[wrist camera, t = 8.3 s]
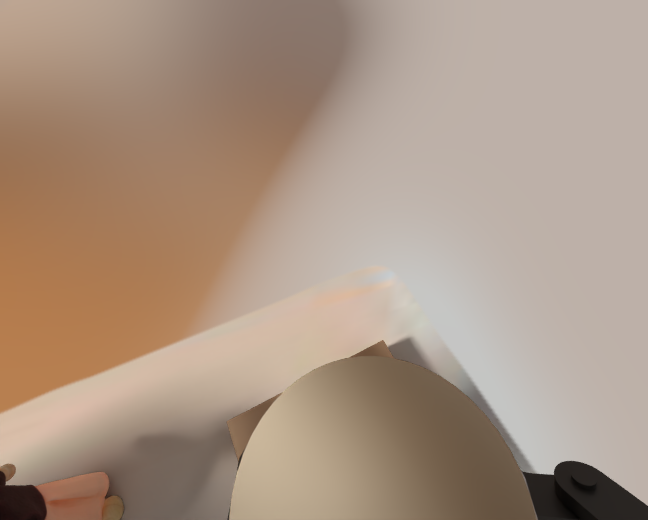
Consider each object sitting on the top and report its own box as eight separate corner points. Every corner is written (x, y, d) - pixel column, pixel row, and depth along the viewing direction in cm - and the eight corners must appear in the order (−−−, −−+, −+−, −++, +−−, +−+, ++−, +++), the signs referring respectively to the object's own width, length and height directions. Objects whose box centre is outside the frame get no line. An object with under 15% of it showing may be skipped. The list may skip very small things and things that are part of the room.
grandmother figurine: (147, 499, 25) (-1, 529, 14) (109, 558, 23) (-91, 643, 12) (79, 447, 27) (-95, 439, 16) (40, 498, 25) (-183, 526, 15)
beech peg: (334, 572, 15) (304, 891, 4) (286, 447, 18) (191, 431, 7) (434, 505, 16) (628, 610, 5) (374, 397, 19) (417, 313, 8)
